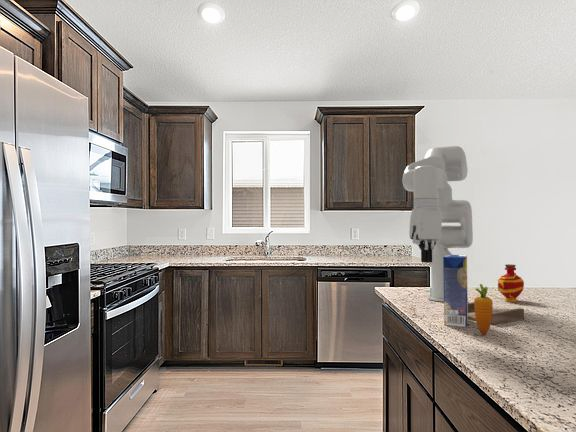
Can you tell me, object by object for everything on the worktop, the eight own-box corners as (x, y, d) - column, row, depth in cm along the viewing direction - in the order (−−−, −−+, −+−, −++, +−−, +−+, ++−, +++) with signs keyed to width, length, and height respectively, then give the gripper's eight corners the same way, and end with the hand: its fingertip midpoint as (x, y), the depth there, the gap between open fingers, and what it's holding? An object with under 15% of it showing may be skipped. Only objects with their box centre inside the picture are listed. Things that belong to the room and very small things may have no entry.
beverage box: (467, 319, 149) (466, 255, 150) (467, 326, 139) (466, 257, 139) (446, 318, 152) (445, 254, 152) (444, 325, 142) (443, 257, 142)
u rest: (450, 315, 156) (450, 305, 156) (481, 310, 164) (481, 301, 164) (492, 324, 141) (492, 314, 141) (524, 319, 149) (523, 309, 149)
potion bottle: (528, 303, 177) (527, 266, 178) (501, 302, 180) (500, 265, 180) (520, 298, 188) (519, 263, 188) (494, 298, 190) (493, 263, 190)
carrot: (491, 339, 125) (491, 286, 125) (473, 336, 127) (472, 285, 128) (494, 335, 129) (493, 284, 129) (476, 333, 132) (475, 282, 132)
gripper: (434, 205, 147) (434, 260, 146) (400, 204, 140) (400, 262, 139) (452, 204, 140) (452, 262, 140) (417, 203, 133) (417, 264, 133)
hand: (426, 262), depth 139 cm, fingers closed
